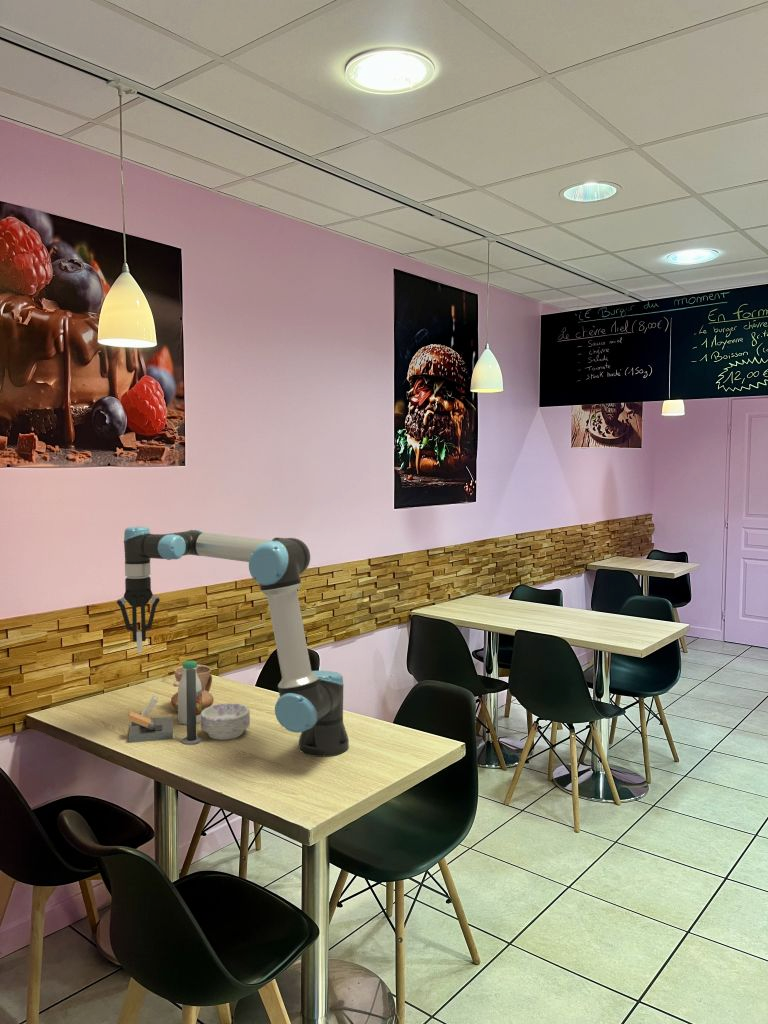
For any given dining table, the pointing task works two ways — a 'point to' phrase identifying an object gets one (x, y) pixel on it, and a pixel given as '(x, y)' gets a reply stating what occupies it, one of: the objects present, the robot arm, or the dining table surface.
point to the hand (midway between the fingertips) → (139, 651)
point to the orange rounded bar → (141, 720)
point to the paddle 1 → (149, 706)
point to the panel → (160, 731)
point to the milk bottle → (183, 695)
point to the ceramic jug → (205, 681)
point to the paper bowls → (225, 720)
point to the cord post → (191, 709)
